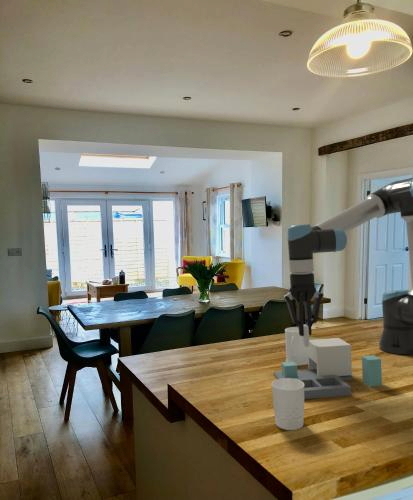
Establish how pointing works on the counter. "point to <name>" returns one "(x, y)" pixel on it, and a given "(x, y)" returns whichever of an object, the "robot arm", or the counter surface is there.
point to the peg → (371, 370)
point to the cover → (330, 357)
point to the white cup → (288, 403)
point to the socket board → (324, 387)
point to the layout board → (300, 372)
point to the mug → (295, 347)
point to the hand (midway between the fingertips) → (305, 345)
